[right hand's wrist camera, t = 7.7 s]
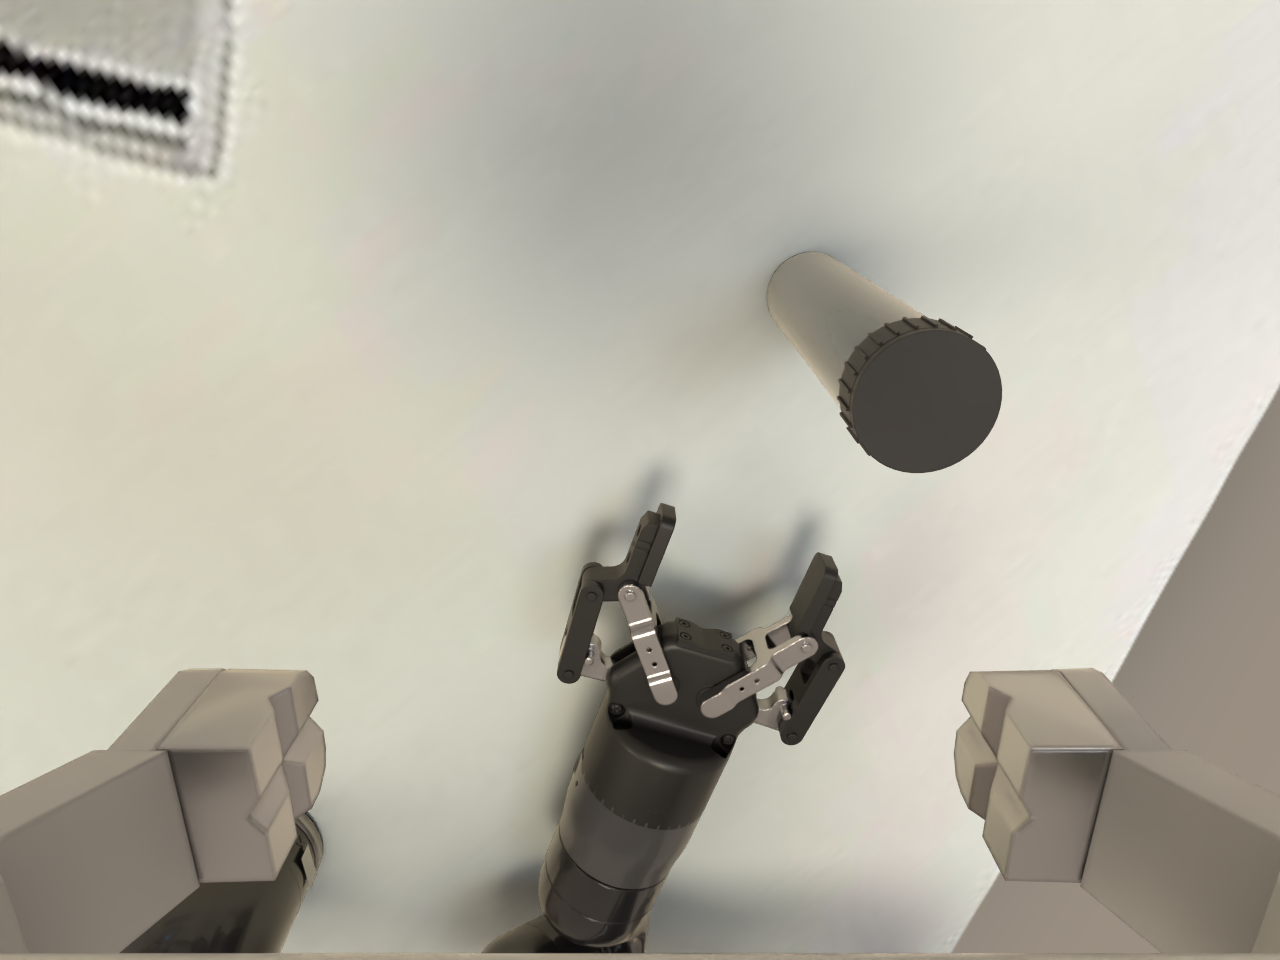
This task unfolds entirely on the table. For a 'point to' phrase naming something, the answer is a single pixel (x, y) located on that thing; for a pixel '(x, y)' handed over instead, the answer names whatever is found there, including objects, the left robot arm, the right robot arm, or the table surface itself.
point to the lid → (919, 394)
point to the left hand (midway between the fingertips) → (749, 536)
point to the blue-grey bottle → (828, 312)
